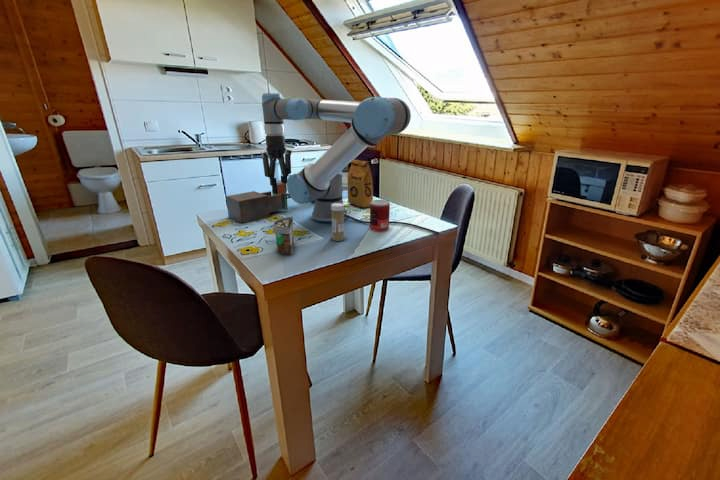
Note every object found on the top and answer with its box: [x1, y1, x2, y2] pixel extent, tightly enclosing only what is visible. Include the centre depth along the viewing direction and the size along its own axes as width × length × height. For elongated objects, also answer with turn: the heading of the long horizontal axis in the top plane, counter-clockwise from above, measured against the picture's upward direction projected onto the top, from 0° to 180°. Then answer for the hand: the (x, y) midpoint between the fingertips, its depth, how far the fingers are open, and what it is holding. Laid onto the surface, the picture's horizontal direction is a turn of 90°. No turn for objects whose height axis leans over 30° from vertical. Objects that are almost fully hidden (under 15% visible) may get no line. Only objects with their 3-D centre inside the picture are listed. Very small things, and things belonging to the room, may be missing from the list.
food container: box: [272, 216, 295, 256], centre depth 117 cm, size 12×6×10 cm, turn 5°
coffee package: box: [346, 159, 374, 209], centre depth 169 cm, size 10×12×22 cm
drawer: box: [260, 190, 292, 214], centre depth 161 cm, size 18×10×8 cm, turn 136°
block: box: [277, 181, 287, 194], centre depth 146 cm, size 4×4×4 cm
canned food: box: [369, 199, 391, 232], centre depth 138 cm, size 8×8×11 cm
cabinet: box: [225, 190, 271, 224], centre depth 152 cm, size 14×12×10 cm
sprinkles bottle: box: [331, 203, 345, 242], centre depth 126 cm, size 5×5×13 cm
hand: (279, 192), depth 147 cm, fingers closed on block, 4 cm apart
